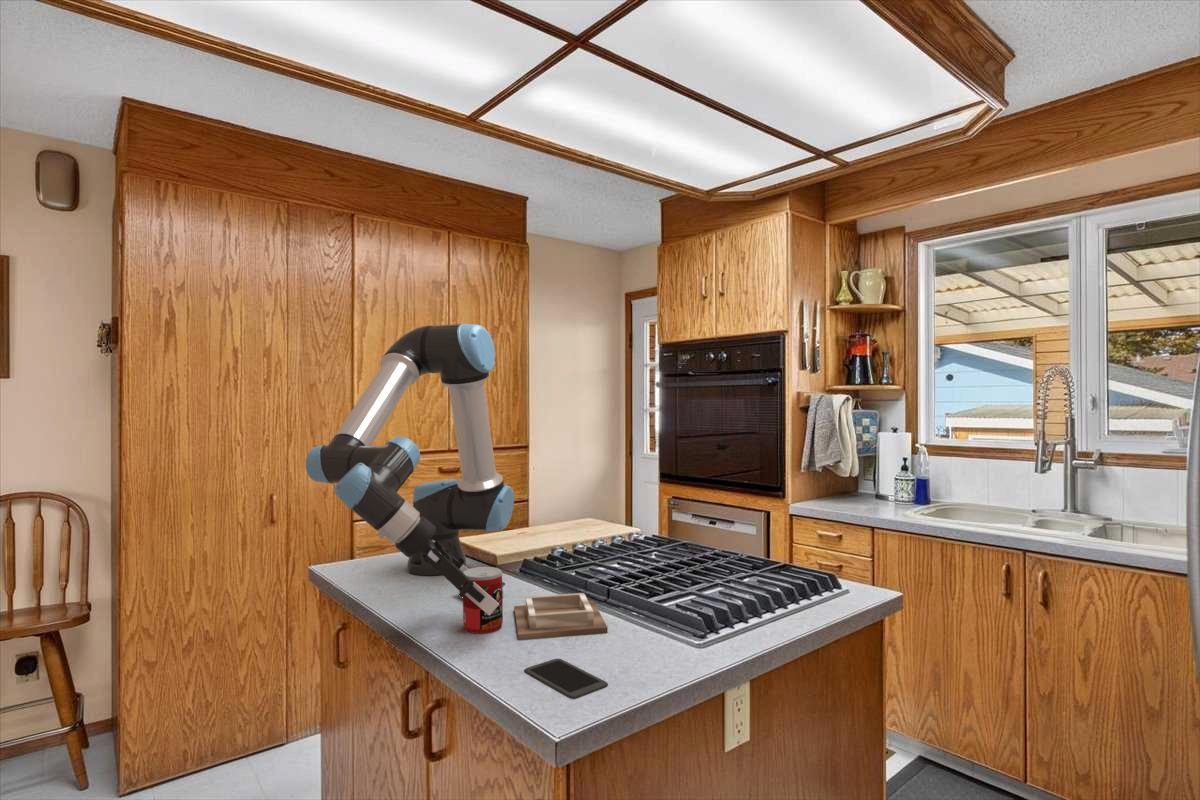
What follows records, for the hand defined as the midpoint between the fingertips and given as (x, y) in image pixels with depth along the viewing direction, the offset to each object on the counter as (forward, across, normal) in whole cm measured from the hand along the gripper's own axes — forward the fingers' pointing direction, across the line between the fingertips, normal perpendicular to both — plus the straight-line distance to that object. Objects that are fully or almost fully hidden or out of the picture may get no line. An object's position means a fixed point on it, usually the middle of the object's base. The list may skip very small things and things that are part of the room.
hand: (487, 599), depth 132 cm
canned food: (+3, 0, -5) cm, 6 cm away
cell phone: (+10, +28, +1) cm, 30 cm away
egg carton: (+6, -20, -3) cm, 21 cm away
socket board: (+14, +2, +6) cm, 15 cm away
